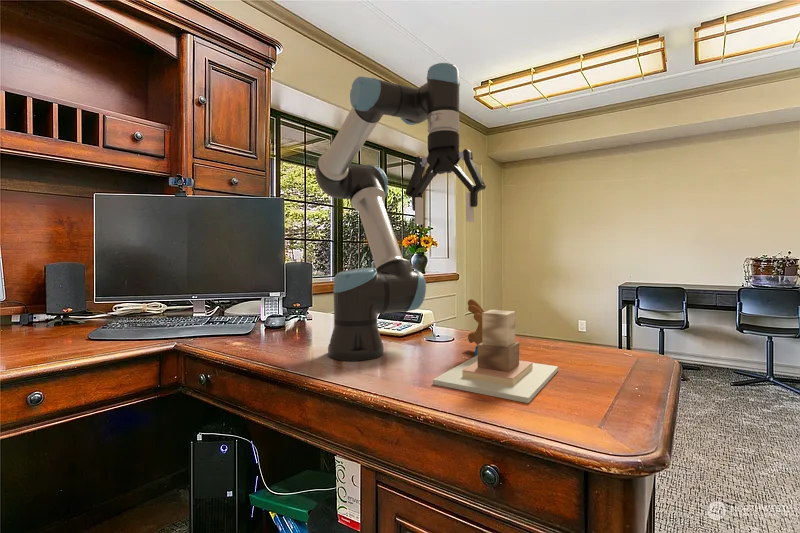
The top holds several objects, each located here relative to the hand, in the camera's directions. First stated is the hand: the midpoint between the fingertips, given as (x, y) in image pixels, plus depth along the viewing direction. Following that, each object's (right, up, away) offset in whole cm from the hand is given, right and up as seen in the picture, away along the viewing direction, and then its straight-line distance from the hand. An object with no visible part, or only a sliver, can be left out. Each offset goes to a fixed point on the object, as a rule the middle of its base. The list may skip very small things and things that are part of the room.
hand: (443, 223), depth 97 cm
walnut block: (+11, -32, -7) cm, 35 cm away
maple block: (+11, -27, -8) cm, 31 cm away
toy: (+11, -34, +13) cm, 39 cm away
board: (+11, -35, -7) cm, 37 cm away
